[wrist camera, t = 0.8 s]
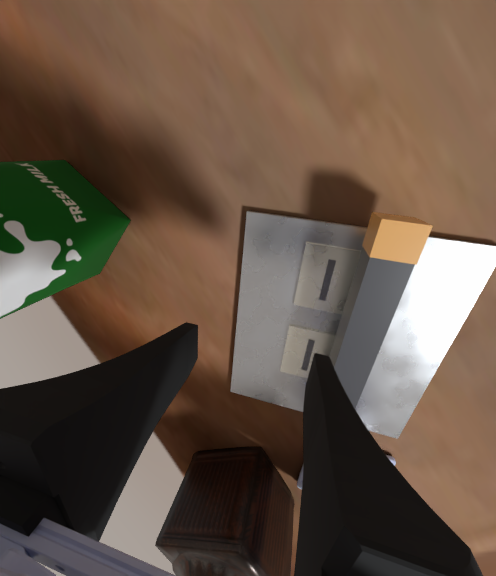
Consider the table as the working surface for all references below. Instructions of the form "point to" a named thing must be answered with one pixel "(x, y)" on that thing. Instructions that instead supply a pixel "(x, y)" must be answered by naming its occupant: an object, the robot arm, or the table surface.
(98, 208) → the milk carton
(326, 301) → the tray base
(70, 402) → the robot arm
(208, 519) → the manual coffee grinder
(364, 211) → the table surface
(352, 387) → the swing arm
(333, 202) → the table surface
